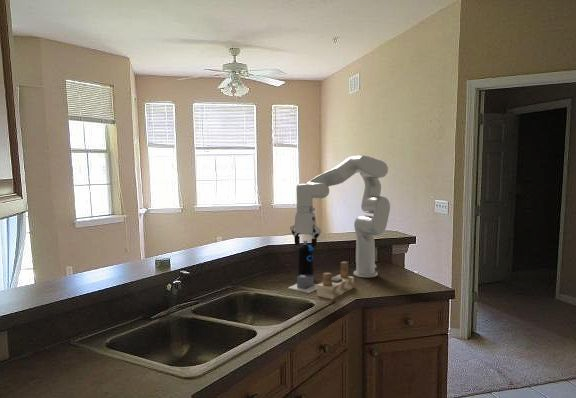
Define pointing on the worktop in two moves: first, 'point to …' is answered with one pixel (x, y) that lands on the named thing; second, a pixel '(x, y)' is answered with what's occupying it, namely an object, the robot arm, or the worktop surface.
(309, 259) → the aerosol can
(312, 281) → the lever cap
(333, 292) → the cream pegged block
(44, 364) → the worktop surface
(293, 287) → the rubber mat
